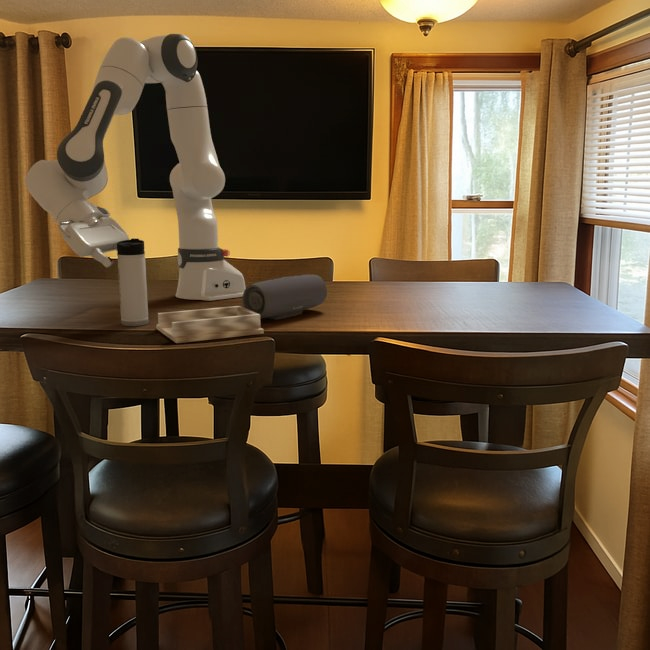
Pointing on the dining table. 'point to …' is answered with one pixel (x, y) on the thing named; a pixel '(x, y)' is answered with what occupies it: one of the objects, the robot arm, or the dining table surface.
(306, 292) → the bluetooth speaker
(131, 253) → the travel mug
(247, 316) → the tray
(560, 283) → the dining table surface
